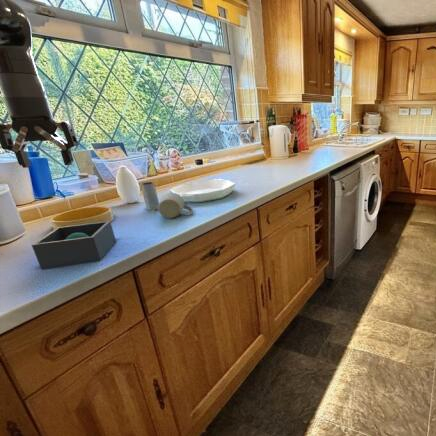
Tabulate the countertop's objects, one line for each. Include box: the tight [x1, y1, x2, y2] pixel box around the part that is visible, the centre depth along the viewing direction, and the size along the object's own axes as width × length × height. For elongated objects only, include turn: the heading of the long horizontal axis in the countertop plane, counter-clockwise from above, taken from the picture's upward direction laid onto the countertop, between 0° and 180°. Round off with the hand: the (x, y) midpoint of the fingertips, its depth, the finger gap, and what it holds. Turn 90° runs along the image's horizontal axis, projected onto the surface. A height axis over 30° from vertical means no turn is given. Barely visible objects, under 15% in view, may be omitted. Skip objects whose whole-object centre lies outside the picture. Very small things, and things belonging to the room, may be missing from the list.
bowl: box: [49, 205, 114, 230], centre depth 102 cm, size 16×16×4 cm
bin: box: [31, 221, 117, 270], centre depth 79 cm, size 12×12×6 cm
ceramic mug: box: [157, 192, 194, 219], centre depth 108 cm, size 11×8×8 cm
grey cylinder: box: [140, 181, 160, 211], centre depth 115 cm, size 4×4×10 cm
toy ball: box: [65, 233, 89, 240], centre depth 79 cm, size 6×6×6 cm
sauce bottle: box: [115, 160, 141, 204], centre depth 124 cm, size 8×8×18 cm
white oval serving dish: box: [168, 178, 236, 203], centre depth 133 cm, size 31×26×4 cm
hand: (48, 166), depth 75 cm, fingers open, 8 cm apart
